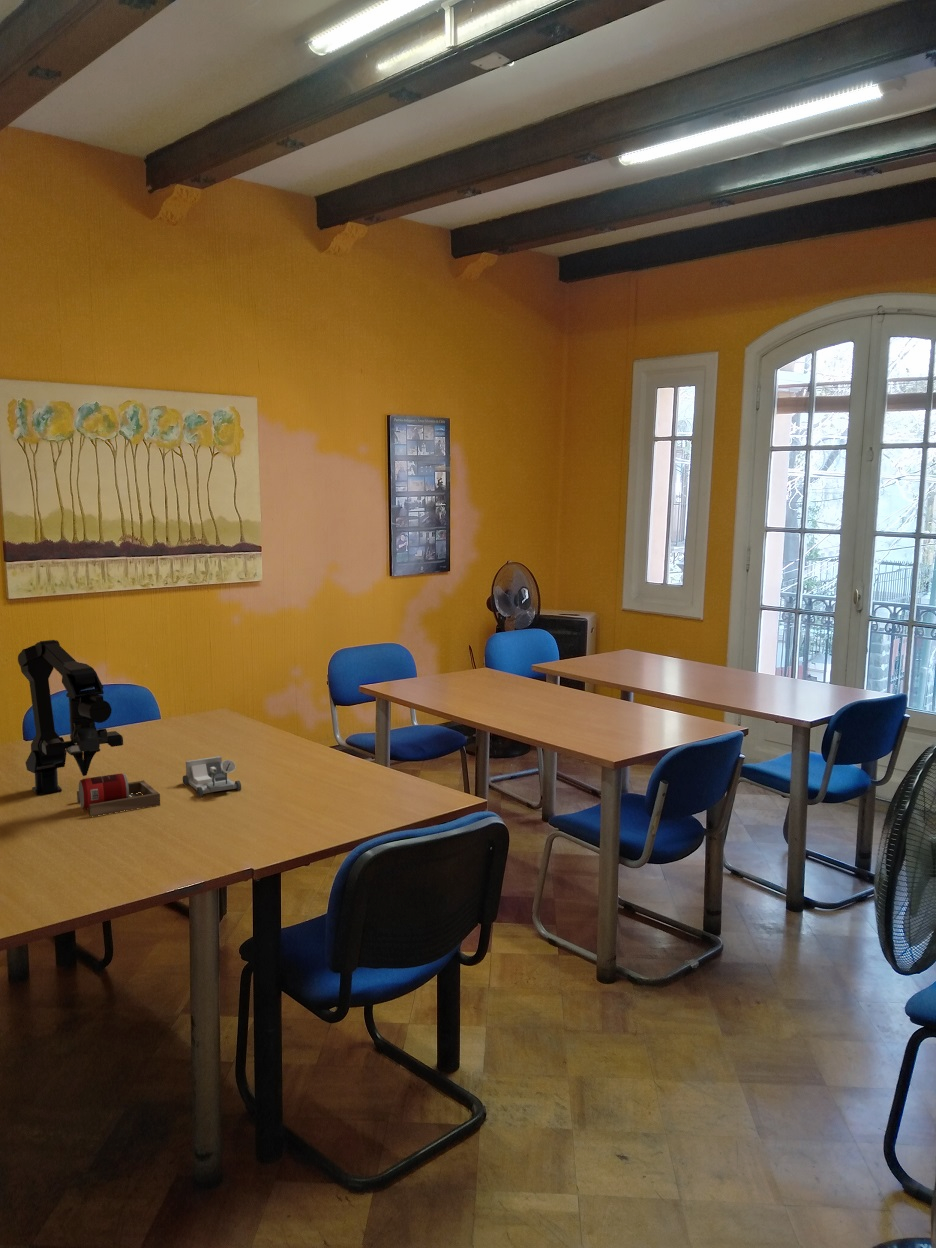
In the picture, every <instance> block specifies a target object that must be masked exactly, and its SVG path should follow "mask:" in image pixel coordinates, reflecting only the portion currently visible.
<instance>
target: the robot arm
mask: <svg viewBox="0 0 936 1248" xmlns="http://www.w3.org/2000/svg"><path fill="white" fill-rule="evenodd" d="M17 662H18V665H19V667H20V671H21V673H22V675H23V676H24V677H25V678H26V679H27V681H28V683H29V689H30V698H31V704H32V713H33V720H34V721H33V723H34V729H35V735H34V737H33V738H32V741H31V744H30V753H29V755H28V757H27V759H26V761H25V766H26V770H27V771H28V772H30V773H33V774H34V787H32V788H31V790H32V792H34V794H35V795H36V796H39V795H44V794H45V795H46V794H51V793H57V792H58V791H59V792H62V791H63V789H62V787H60V786H59V777H58V769H60V768H66V767H65V766H66V761H67V753H68V754H69V755H70V756H73V758H74V759H75V762H76V764H77V766H78V768H79V771H80V774H81V775H82V776H83V777H85V776H87V774H88V772H89V768H90V766H91V763H92V760H93V758H94V757H95V754H96V753H99V752H101V748H100V747H101V745H103V744H105V745H106V744H107V745H109V746H110V747H111V748H113V747H119V746H121V747H122V746H124V738H123V735H122V734H120V733H119V732H118V731H117V730H113V731H108V730H107V728H98V729H97V728H96V723H98V724H101V723H104V722H106V721H107V720H108V719H110V717H111V715H112V706H111V704H110V703H109V702H108V701H106V700H105V699H104V694H105V692H104V689H103V688H104V685H103V683H102V682H101V680H100V678H99V676H98V673H97V671H96V670H95V669H94V668H93V667H92V666H91V665H89V664H87V663H83V662H79V661H78V660H75V658H73V656H71V655H70V654H69V653H68V652H67V651H66V650H65V649H64V648H63V647H62V646H61V645H60V642H59V640H56V639H47V640H40V641H38V642H36V643H35V644H34V645H31V646H29V647H27V648H23V649H22V650H21V652H19V654H18V655H17ZM54 669H55V670H56V671H57V672H58V674H60V675H61V684H62V685H63V687H64V688H65V690H66V692H67V693H66V695H65V697H66V698H68V708H69V712H68V713H69V728H70V729H69V730H70V731H69V732H70V734H69V738H70V740H64V738H63V737H62V736H60V735H59V734H58V733H57V732H56V728H55V720H54V713H53V712H54V711H53V704H52V696H51V688H50V681H49V680H50V679H49V678H50V677H51V674H52V673H53V670H54Z"/></svg>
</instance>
